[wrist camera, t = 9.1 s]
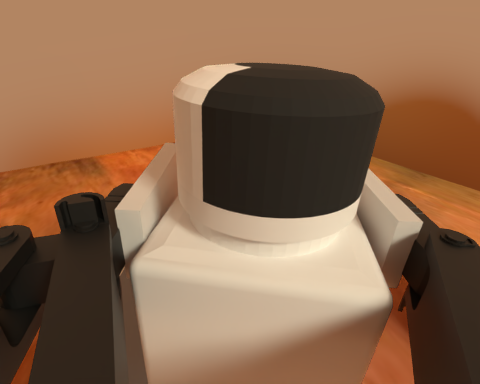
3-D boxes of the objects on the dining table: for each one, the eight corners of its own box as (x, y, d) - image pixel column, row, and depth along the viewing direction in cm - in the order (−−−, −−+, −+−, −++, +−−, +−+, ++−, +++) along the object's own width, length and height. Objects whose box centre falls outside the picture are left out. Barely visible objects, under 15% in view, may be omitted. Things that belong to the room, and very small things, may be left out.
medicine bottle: (319, 293, 17) (373, 65, 11) (340, 446, 10) (490, 92, 5) (198, 276, 17) (192, 55, 12) (148, 409, 11) (86, 66, 5)
